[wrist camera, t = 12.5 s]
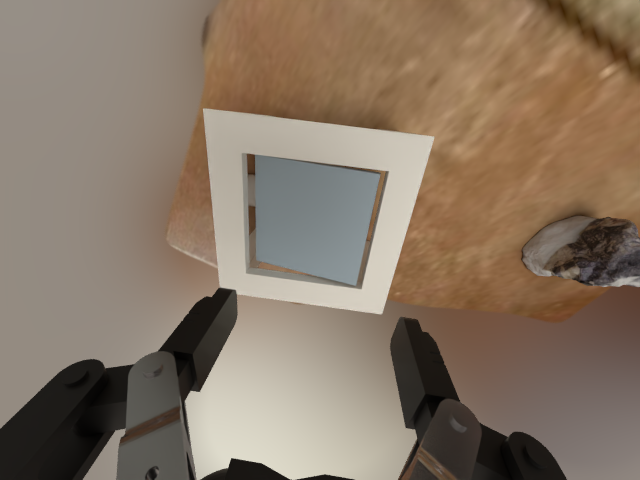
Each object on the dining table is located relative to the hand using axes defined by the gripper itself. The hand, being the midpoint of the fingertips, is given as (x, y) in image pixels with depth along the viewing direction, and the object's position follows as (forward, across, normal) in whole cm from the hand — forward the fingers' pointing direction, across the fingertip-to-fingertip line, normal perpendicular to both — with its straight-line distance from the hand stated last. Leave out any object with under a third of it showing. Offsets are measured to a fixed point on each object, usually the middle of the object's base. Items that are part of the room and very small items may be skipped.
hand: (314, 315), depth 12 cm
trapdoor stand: (+32, +2, +4) cm, 32 cm away
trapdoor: (+18, +2, +3) cm, 19 cm away
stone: (+33, -41, +6) cm, 53 cm away
